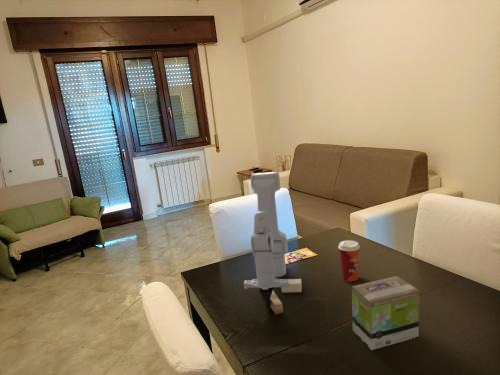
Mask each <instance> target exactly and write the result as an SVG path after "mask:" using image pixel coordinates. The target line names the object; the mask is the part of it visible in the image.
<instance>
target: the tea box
mask: <svg viewBox="0 0 500 375" xmlns="http://www.w3.org/2000/svg"><path fill="white" fill-rule="evenodd" d="M351 307H352V310H351V312H352V331H353V332H354V333H355V334H356V336H357V335H358V336H359V337H360V338H361V339H360V338H359V337H358V336H357V337H358V338H359V339H360V340H361V341H362V342H363V343H364V342H365V343H366V344H367V345H368V346H367V345H366V344H365V343H364V344H365V345H366V346H367V347H368V348H369V350H370V351H375V350H377V349H381V348H384V347H388V346H391V345H395V344H398V343H402V342H405V341H409V339H410V340H413V339H412V338H414V339H416V338H415V337H418V336H419V332H420V330H419V329H420V290H419V289H418V288H416V287H414V286H413V285H412V284H410V283H409V282H407V281H405V280H404V279H402V278H401V277H399V276H398V275H395V276H390V277H386V278H381V279H377V280H372V281H368V282H365V283H364V282H363V283H359V284H355V285H352V286H351ZM418 338H419V337H418Z"/></svg>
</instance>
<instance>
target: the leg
mask: <svg viewBox="0 0 500 375" xmlns="http://www.w3.org/2000/svg"><path fill="white" fill-rule="evenodd" d="M270 301H271V307H270V309H272V311H273V312H274V314H275V315H279V314H282V313H284V308H283V307H284V306H283V303H282V301H281V300H280V299H279V297H278V295H277V294H276V292H275V291H274V290H273V292H272V295H271V297H270Z"/></svg>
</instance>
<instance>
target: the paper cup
mask: <svg viewBox="0 0 500 375" xmlns="http://www.w3.org/2000/svg"><path fill="white" fill-rule="evenodd" d="M337 247H338V249H339V256H340V267H341V273H342V274H341V275H342V279H343V281H345V282H347V281H348V283H353V282H352V281H355V282H357V281H358V280H359V267H360V266H359V264H360V263H359V262H360V248H361V246H360V244H359V242H358V241H356V240H342V241H340V242H339V244H338V246H337ZM356 280H357V281H356Z"/></svg>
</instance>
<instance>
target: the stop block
mask: <svg viewBox="0 0 500 375" xmlns="http://www.w3.org/2000/svg"><path fill="white" fill-rule="evenodd" d="M284 280H289V288H286V287H280V288H281V293H302V289H303V287H302V285H303V284H302V278H288V279H287V278H284Z"/></svg>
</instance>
